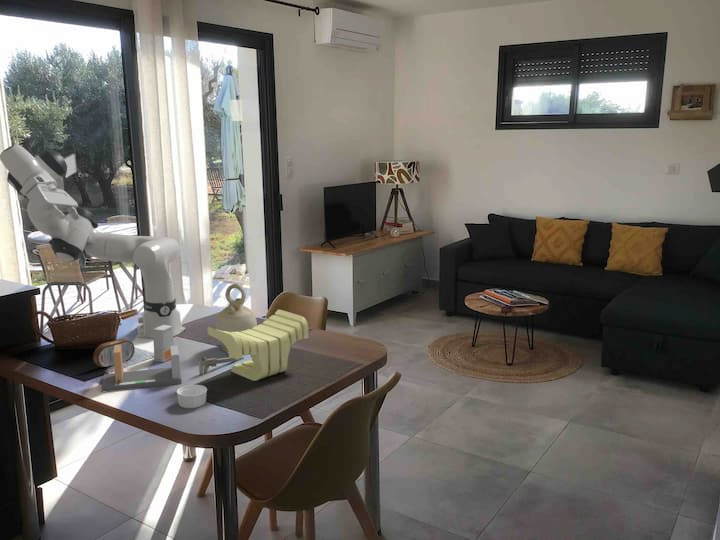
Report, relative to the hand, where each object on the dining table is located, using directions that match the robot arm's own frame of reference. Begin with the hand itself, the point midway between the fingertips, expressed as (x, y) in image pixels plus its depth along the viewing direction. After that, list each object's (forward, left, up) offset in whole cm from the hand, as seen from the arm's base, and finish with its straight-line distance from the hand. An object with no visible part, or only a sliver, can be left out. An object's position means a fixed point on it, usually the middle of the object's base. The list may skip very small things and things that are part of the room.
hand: (70, 218), depth 200 cm
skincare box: (+2, +27, -53) cm, 59 cm away
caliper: (+20, +42, -53) cm, 70 cm away
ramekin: (+45, +23, -53) cm, 73 cm away
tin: (-2, +11, -53) cm, 54 cm away
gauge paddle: (+18, +8, -51) cm, 54 cm away
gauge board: (+19, +15, -52) cm, 57 cm away
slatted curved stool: (+32, +51, -53) cm, 80 cm away
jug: (+4, +54, -53) cm, 75 cm away
